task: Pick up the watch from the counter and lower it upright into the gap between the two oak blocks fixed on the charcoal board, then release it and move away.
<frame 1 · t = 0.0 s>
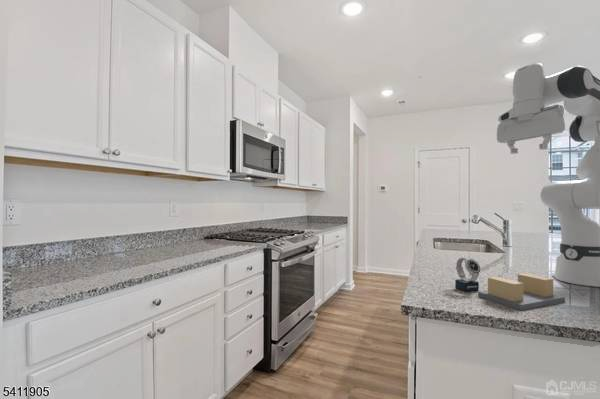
hand: (528, 151, 104), 48 cm above the counter, tool pointing down, fingers open, 8 cm apart
holder: (520, 299, 93), on the counter
watch: (467, 290, 102), on the counter
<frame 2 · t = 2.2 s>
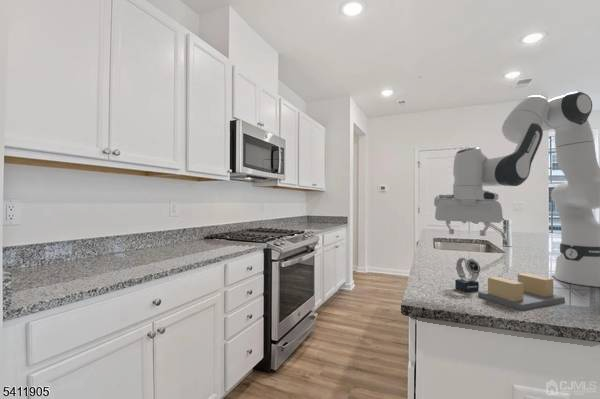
hand: (466, 234, 103), 19 cm above the counter, tool pointing down, fingers open, 8 cm apart
nothing on the counter moved.
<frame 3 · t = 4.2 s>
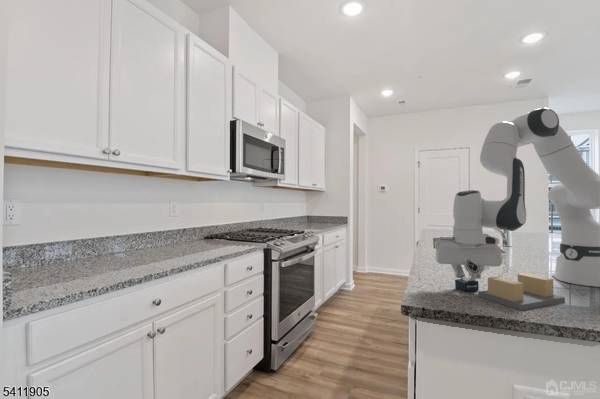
hand: (467, 277, 102), 4 cm above the counter, tool pointing down, fingers open, 5 cm apart
watch: (467, 290, 102), on the counter, touching gripper
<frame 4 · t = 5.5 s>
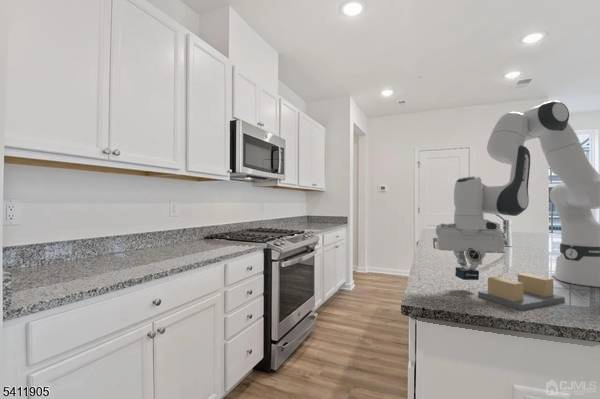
hand: (469, 264, 102), 9 cm above the counter, tool pointing down, fingers closed on watch, 4 cm apart
watch: (466, 278, 102), point 4 cm above the counter, touching gripper
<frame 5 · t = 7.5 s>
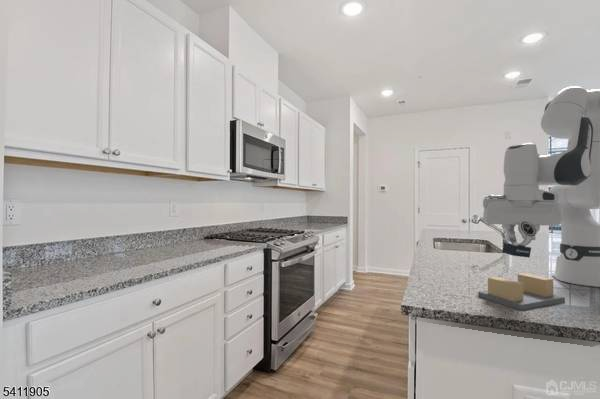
hand: (520, 239, 93), 19 cm above the counter, tool pointing down, fingers closed on watch, 4 cm apart
watch: (515, 255, 93), point 14 cm above the counter, touching gripper
when the fingers open (7 cm above the counter, at t = 9.6 s): watch stays where it is, resting on holder.
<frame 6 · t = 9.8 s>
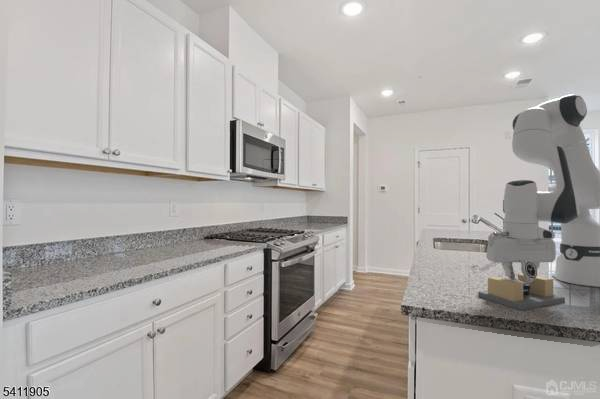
hand: (520, 276, 93), 7 cm above the counter, tool pointing down, fingers open, 6 cm apart
watch: (515, 292, 94), point 2 cm above the counter, touching holder
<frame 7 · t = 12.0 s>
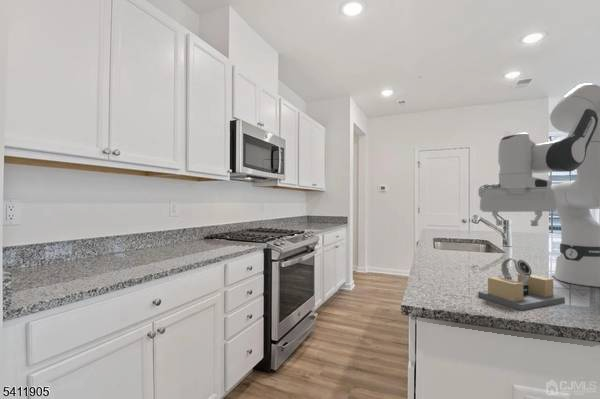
hand: (516, 225, 97), 23 cm above the counter, tool pointing down, fingers open, 8 cm apart
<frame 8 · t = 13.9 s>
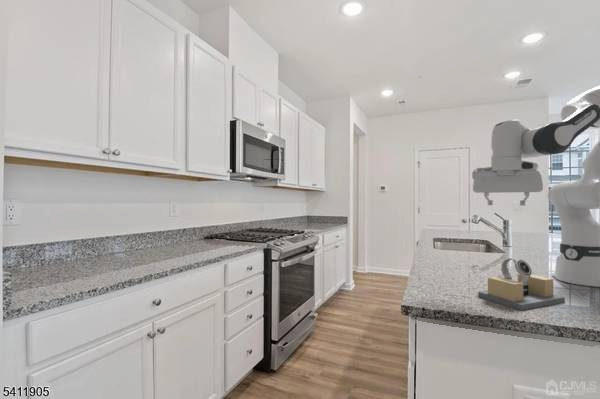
hand: (505, 205, 105), 29 cm above the counter, tool pointing down, fingers open, 8 cm apart
at the end: watch 1.3 cm off-centre on the holder, point 1.3 cm above the holder's base; watch tilted 0°; the gripper is holding nothing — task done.
